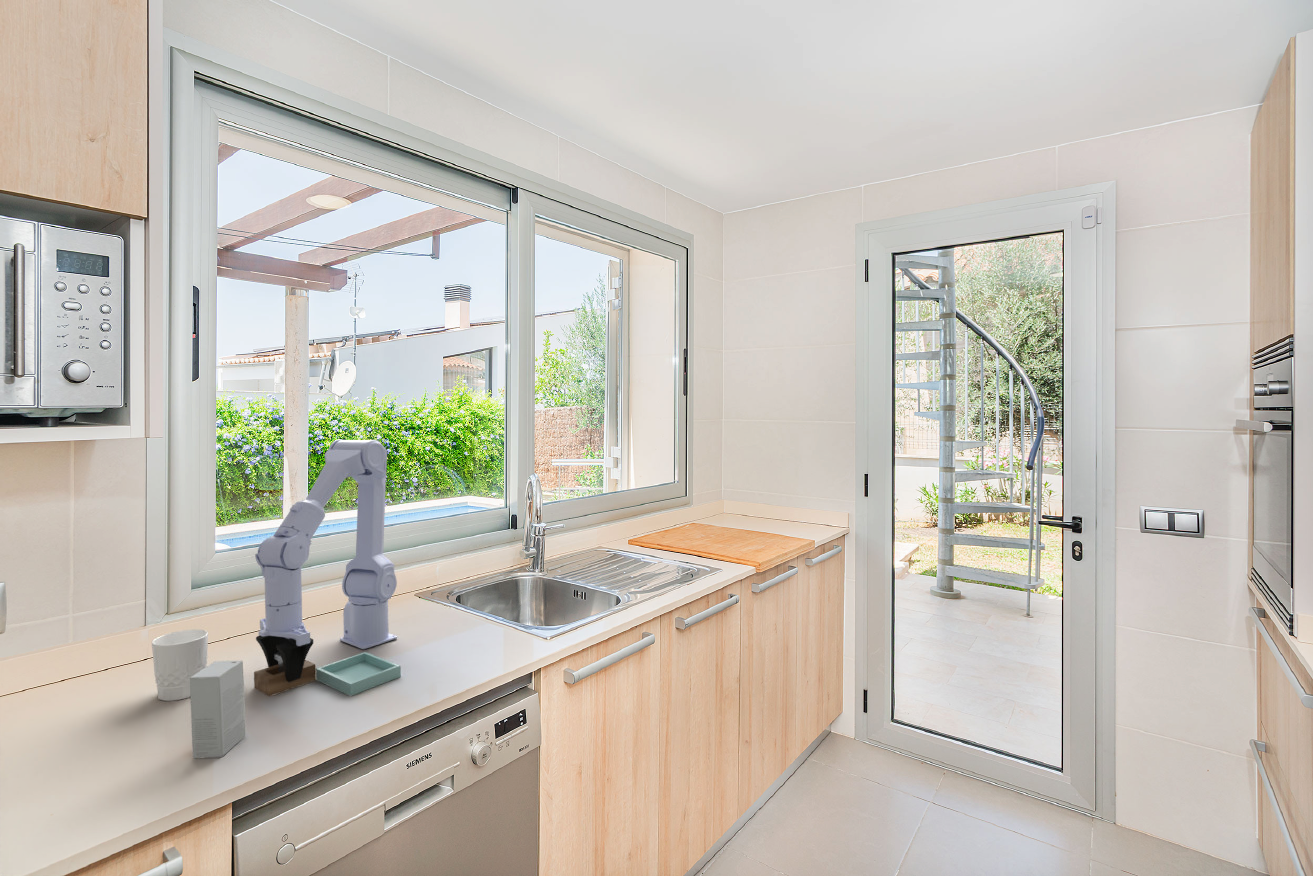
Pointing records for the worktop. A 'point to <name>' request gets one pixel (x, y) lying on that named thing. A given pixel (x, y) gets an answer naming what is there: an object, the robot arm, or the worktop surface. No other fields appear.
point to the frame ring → (281, 679)
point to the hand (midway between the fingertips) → (285, 675)
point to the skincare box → (217, 708)
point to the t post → (279, 662)
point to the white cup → (178, 661)
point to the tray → (358, 673)
